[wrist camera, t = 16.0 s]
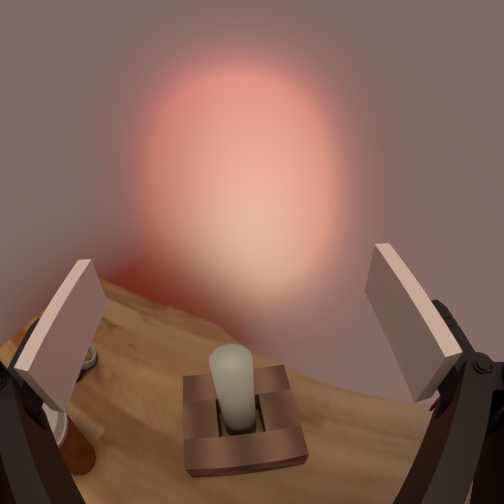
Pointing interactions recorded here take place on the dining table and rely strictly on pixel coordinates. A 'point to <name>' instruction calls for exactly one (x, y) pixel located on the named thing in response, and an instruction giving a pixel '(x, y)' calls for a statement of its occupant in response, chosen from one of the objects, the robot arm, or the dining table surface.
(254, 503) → the dining table surface
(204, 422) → the socket block
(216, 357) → the peg
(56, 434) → the disposable coffee cup
